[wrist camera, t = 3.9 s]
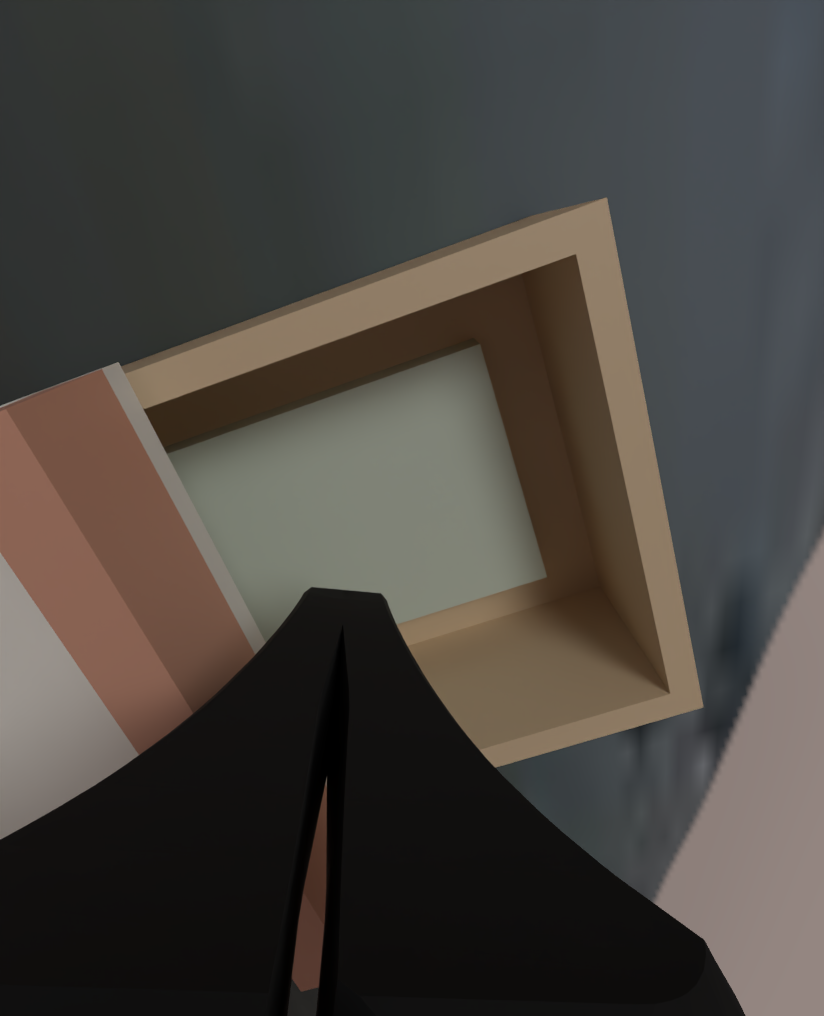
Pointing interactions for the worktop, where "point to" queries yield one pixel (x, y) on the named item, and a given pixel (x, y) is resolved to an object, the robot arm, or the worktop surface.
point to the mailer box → (453, 476)
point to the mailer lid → (110, 609)
